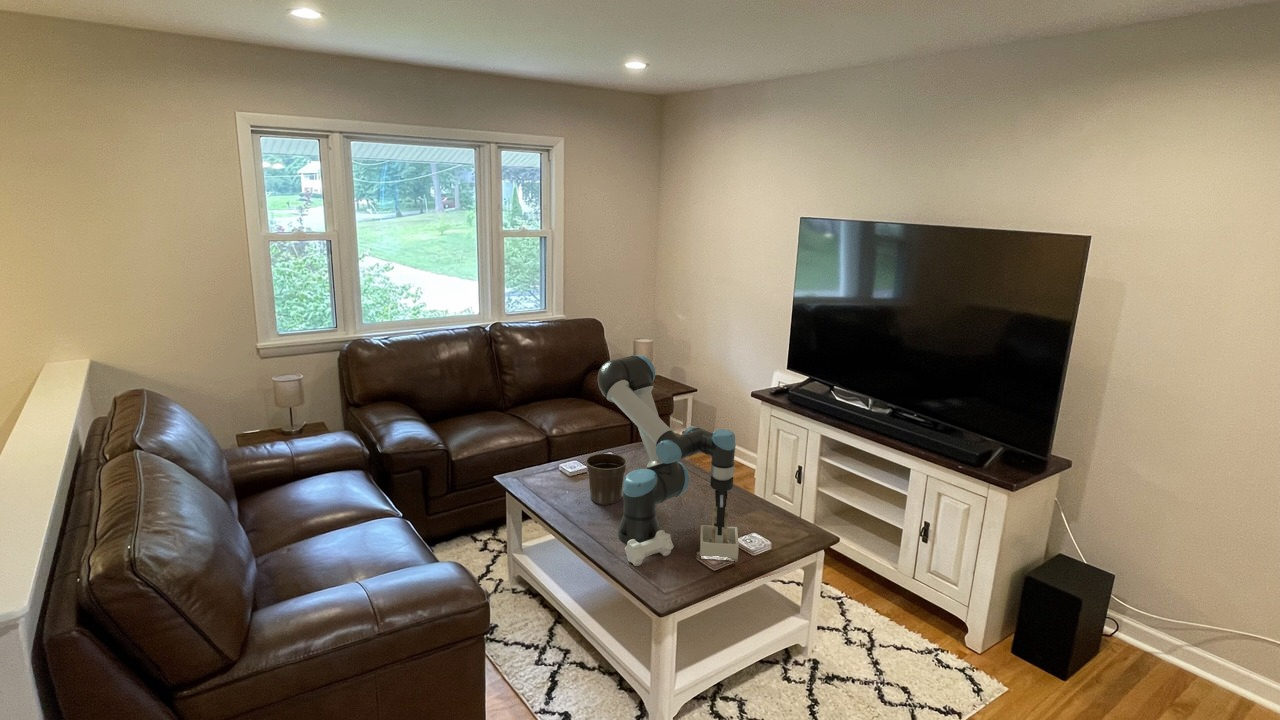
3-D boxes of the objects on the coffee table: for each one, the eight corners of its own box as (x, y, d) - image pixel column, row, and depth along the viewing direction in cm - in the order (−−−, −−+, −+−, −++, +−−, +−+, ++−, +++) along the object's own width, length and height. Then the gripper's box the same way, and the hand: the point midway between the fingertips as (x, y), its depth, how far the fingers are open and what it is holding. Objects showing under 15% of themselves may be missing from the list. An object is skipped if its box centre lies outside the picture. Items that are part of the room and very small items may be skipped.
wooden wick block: (711, 547, 228) (713, 509, 225) (711, 542, 231) (713, 505, 228) (726, 548, 228) (728, 510, 224) (726, 543, 231) (728, 506, 227)
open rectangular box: (699, 559, 224) (700, 543, 223) (700, 540, 237) (700, 524, 235) (737, 561, 223) (738, 545, 222) (736, 542, 235) (737, 527, 234)
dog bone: (660, 548, 232) (659, 526, 231) (675, 557, 225) (674, 534, 224) (623, 560, 224) (622, 537, 223) (638, 570, 217) (637, 546, 216)
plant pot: (628, 490, 275) (629, 454, 271) (624, 508, 259) (624, 470, 255) (589, 488, 276) (589, 451, 272) (582, 506, 261) (582, 467, 257)
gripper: (734, 486, 215) (730, 552, 221) (732, 467, 231) (729, 528, 236) (710, 485, 216) (707, 551, 221) (710, 465, 231) (707, 527, 237)
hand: (718, 539), depth 229 cm, fingers closed on wooden wick block, 3 cm apart
